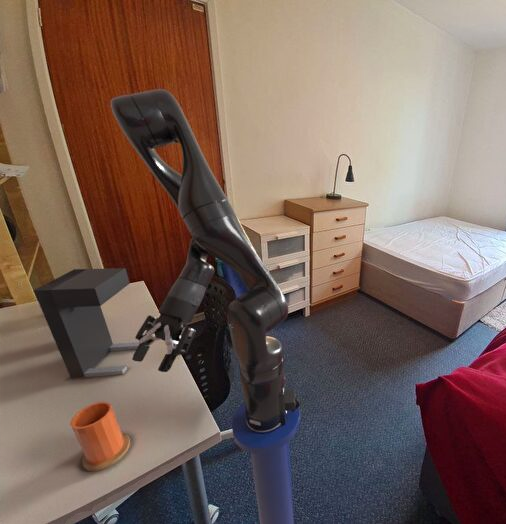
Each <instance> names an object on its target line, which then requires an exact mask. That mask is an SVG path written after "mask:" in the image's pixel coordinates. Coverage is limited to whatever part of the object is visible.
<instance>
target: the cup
mask: <svg viewBox="0 0 506 524" xmlns="http://www.w3.org/2000/svg"><path fill="white" fill-rule="evenodd" d="M70 426H71V429H72V431H73V433H74V436H75V437H76V440H77V442H78V444H79V446H80V448H81V450H82V453H83V456H84V455H85V457H86V459H87V461H88V462H89V463H90V464H99V463H102V462H105V461H107V460H109V459H110V458H112V457H113V456H115V455H116V454H117V453H118V452H119V451H120V450H121V448H122V446H123V444H124V438H123V435H122V433H123V432H122V430H121V427H120V425H119V422H118V419H117V417H116V414H115V411H114V409H113V406H112V404H111V403H110V402H108V401H98V402H94V403H91V404H89V405H88V406H87V405H86V406H85V407H84V408H82V409H80V410H79V411H78V412H76V414H75V415H74V416H73V417H72V418H71V421H70Z"/></svg>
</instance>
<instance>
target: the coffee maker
mask: <svg viewBox="0 0 506 524" xmlns="http://www.w3.org/2000/svg"><path fill="white" fill-rule="evenodd" d="M126 269H127V268H126V267H119V268H118V267H115V268H113V267H112V268H111V267H110V268H76V269H75V268H74V269H72V270H69V271H68V272H66V273H64V274H61V276H58V277H57V278H54V279H53V280H51V281H49V282H47V283H45V284H43V285H41V286H39V287H38V288H36V289H33V293H34V295H35V297H36V300H37V303H38V304H39V307H40V309H41V312H42V314H43V316H44V319H45V321H46V323H47V325H48V329H49V330H50V333H51V336H52V337H53V340H54V342H55V344H56V347H57V350H58V352H59V354H60V356H61V359H62V361H63V364H64V367H65V368H66V370H67V373H68V376H69V377H70V379H75V378H90V377H103V376H104V377H105V376H114V375H117V376H118V375H124V374H125V373H126V371H127V370H128V367H127V365H118V366H105V367H96V366H97V365H98V364H99V363H100V362H101V361H102V360H103V359H104V358H105V357H106V356H107V355H108V354H109V353H110V352H112V351H113V352H114V351H129V350H136V349H137V348H138V346H139V344H140V343H139V341H135V342H122V343H121V342H119V343H113V340H112V336H111V334H110V331H109V328H108V325H107V322H106V319H105V315H104V313H103V310H102V307H101V306H103V305H105V303H107V302H108V301H109V300H110V299H112V298H113V297H115V296H116V295H117V294H118V293H120V291H122V290H124V289H125V288H126V287H128V286H129V285H130V279H129V276H128V272H127V270H126Z"/></svg>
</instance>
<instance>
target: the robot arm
mask: <svg viewBox="0 0 506 524" xmlns="http://www.w3.org/2000/svg"><path fill="white" fill-rule="evenodd" d="M110 109H111V111H112V114H113V116H114V119H115V121H116V123H117V125H118V126H119V128H120V130H121V131H122V133H123V134H124V136H125V138H126V139H127V140H128V142H129V143H130V145H131V147H132V148H133V149H134V151H135V153H137V154H138V156H139V157H140V159H141V160H142V162H143V163H144V164H145V166H146V167H147V169H148V170H149V171H150V173H151V174H152V175H153V176H154V178H155V180H156V181H158V183H159V184H160V185H161V187H162V188H163V190H164V191H165V192H166V193H167V195H168V197H170V199H171V201H172V202H173V204H174V205H175V207H176V209H177V211H178V213H179V216H180V217H181V219H182V221H183V223H184V225H185V227H186V228H187V230H188V232H189V234H190V235H191V240H190V242H189V247H188V252H187V257H186V262H185V265H184V266H183V268H182V269H181V272H180V274H179V275H178V277H177V279H176V280H175V282H174V283H173V285H172V286H171V287H170V289H169V291H168V293H167V295H166V297H165V298H164V300H163V302H162V304H161V306H160V308H159V310H158V313H159V314H160V315H159V316H158V317H157V316H154V315H148V316H147V317H146V318H145V320H144V322H143V323H142V325H141V326H140V327H139V330H138V331H137V333H136V335H135V336H134V337H135V338H134V339H135V340H137V341H138V342H139V343H140V344H139V346H138V348H137V349H135V351H134V353H133V355H132V358H131V360H132V361H134V362H138V363H141V362H143V360H144V359H145V357H146V355H147V353H148V351H149V349H150V347H151V345H152V344H154V343H155V342H156V341H160V340H161V341H164V343H165V345H166V347H167V348H166V351H167V352H166V353H165V354H164V356H163V359H162V361H161V362H160V363H159V367H158V368H157V370H158V371H157V372H160V373H161V372H162V373H167V372H169V371H170V370H171V369H172V367H173V364H174V363H175V361H176V358H177V357H178V356H185V355H187V354H188V352H189V349H190V347H191V345H192V343H193V339H194V337H195V335H196V333H197V330H196V328H195V329H194V328H193V327H189V326H188V323H191V322H192V321H193V320H194V317H195V315H196V313H197V311H198V309H199V307H200V305H201V303H202V301H203V299H204V297H205V294H206V291H207V288H208V287H209V285H210V283H211V281H212V278H213V276H214V274H215V268H214V266H213V265H211V264H210V263H208V262H207V259H208V256H209V257H210V256H211V257H214V258H216V259H217V260H218V261H220V262H222V263H223V264H225V265H226V266H228V267H229V268H231V269H232V270H233V271H234V272H235V273H236V274H237V275H238V277H239V278H240V279H241V281H242V282H243V284H244V285H245V287H246V289H247V292H246V293H244V294H242V295H240V296H238V297H237V298H234V299H233V300H232V301H230V303H229V304H228V306H227V310H226V319H227V325H228V329H229V333H230V334H229V335H230V340H231V344H232V348H233V352H234V354H235V356H236V359H237V361H238V367H239V374H240V382H241V389H242V397H243V402H244V405H245V412H246V423H247V426H248V428H249V429H250V430H251V431H253V432H255V433H258V434H265V433H270V432H272V431H274V430H276V429H278V428H279V427H280V426H282V425H286V417H287V410H292V411H293V412H294V411H295V410H296V409H297V408H299V407H301V400H300V399H299V398H298V397H297V395H296V388H287V377H286V374H285V367H284V366H285V364H284V349H283V345H282V343H281V341H280V340H279V339H277V338H276V337H273V336H270V335H268V334H269V333H271V332H272V331H274V330H275V329H276V328H277V327H279V326H280V325H281V324H282V323H283V322H285V320H287V318H288V316H289V305H288V301H287V298H286V297H285V294H284V293H283V291H282V289H281V288H280V286H279V285H278V283H277V282H276V280H275V279H274V277H273V276H272V274H271V273H270V271H269V270H268V268H267V267H266V265H265V264H264V262H263V261H262V259H261V258H260V256H259V254H258V253H257V251H256V249H255V248H254V246H253V244H252V242H251V241H250V238H249V237H248V235H247V234H246V232H245V230H244V227H243V225H242V223H241V222H240V219H239V218H238V215H237V213H236V212H235V210H234V208H233V206H232V204H231V203H230V200H229V199H228V197H227V196H226V194H225V192H224V190H223V188H222V187H221V185H220V182H219V181H218V179H217V178H216V176H215V175H214V172H213V170H212V169H211V167H210V166H209V163H208V161H207V159H206V158H205V156H204V153H203V151H202V149H201V147H200V145H199V142H198V141H197V138H196V136H195V134H194V131H193V129H192V127H191V125H190V124H189V121H188V119H187V117H186V115H185V113H184V111H183V109H182V107H181V105H180V103H179V102H178V100H177V99H176V98H175V96H174V95H173V94H172V93H171V92H170V91H168V90H167V89H164V88H157V89H150V90H145V91H140V92H135V93H131V94H130V93H129V94H124V95H119V96H116V97H115V96H114V97H113V98H112V99H110ZM176 143H177V144H178V143H179V144H180V149H181V156H182V170H181V173H180V172H178V171H177V170H176V169H174V168H172V167H171V166H170V165H169V164H167V163H166V161H164V160H163V159H162V157H160V155H159V154H158V152H157V151H156V149H158V148H162V147H165V146H169V145H173V144H176ZM295 402H296V403H297V404H296V405H295Z"/></svg>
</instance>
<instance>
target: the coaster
mask: <svg viewBox="0 0 506 524" xmlns="http://www.w3.org/2000/svg"><path fill="white" fill-rule="evenodd" d="M121 433H122V435H123V438H124V444H123V446H122V448H121V450H120V451H119V452H118V453H117V454H116V455H115V456H113V457H112V458H110V459H109V460H107V461H105V462H102V463H99V464H90V463H89V462H88V461H87V459H86V457H85V455H84V454H83V457H82V462H81V463H82V466H83V468H84V470H86V471H88V472H98V471H103V470H105V469H107V468H109V467H111V466H112V465H114V464H115V463H117V462H118V461H120V460H121V459H122V458H123V457H124V456H125V455H126V453H128V450H129V448H130V446H131V439H130V437H129V435H127V434H126V433H123V432H121Z"/></svg>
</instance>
